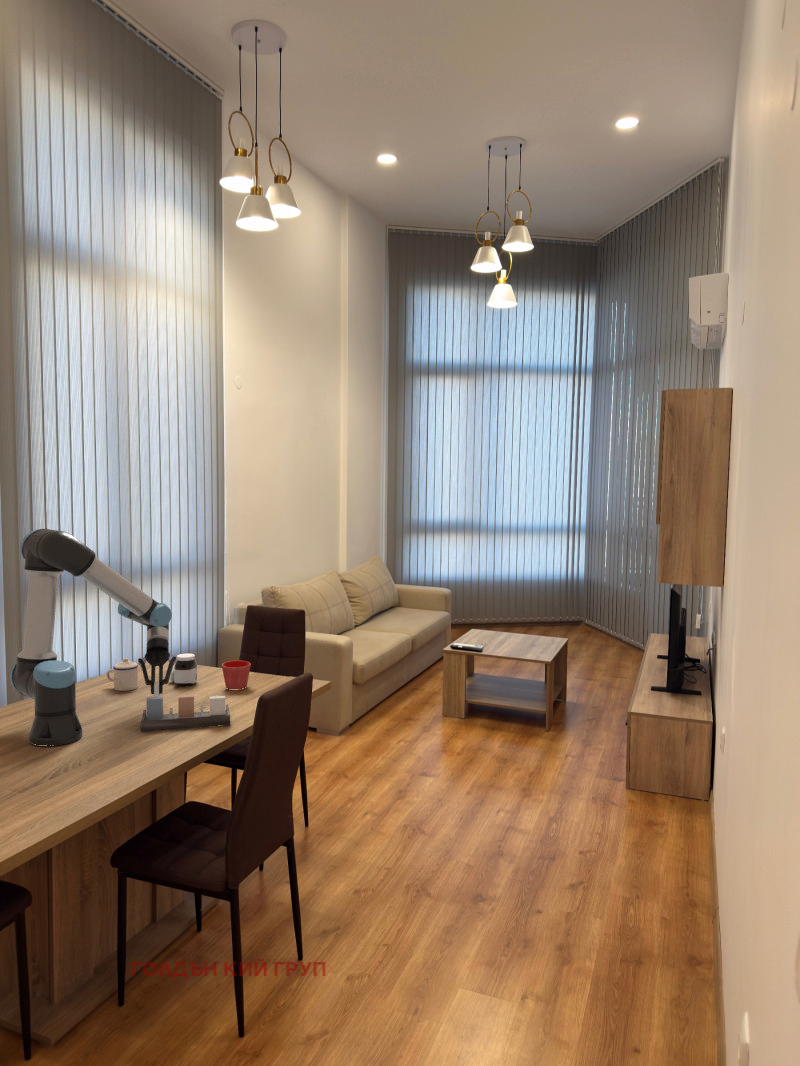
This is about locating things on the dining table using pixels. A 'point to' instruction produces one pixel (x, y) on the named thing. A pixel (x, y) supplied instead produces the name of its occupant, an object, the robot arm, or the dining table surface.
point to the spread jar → (184, 670)
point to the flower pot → (236, 674)
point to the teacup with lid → (124, 675)
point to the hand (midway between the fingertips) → (156, 701)
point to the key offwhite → (217, 705)
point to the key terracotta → (186, 706)
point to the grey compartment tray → (184, 721)
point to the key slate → (154, 708)
